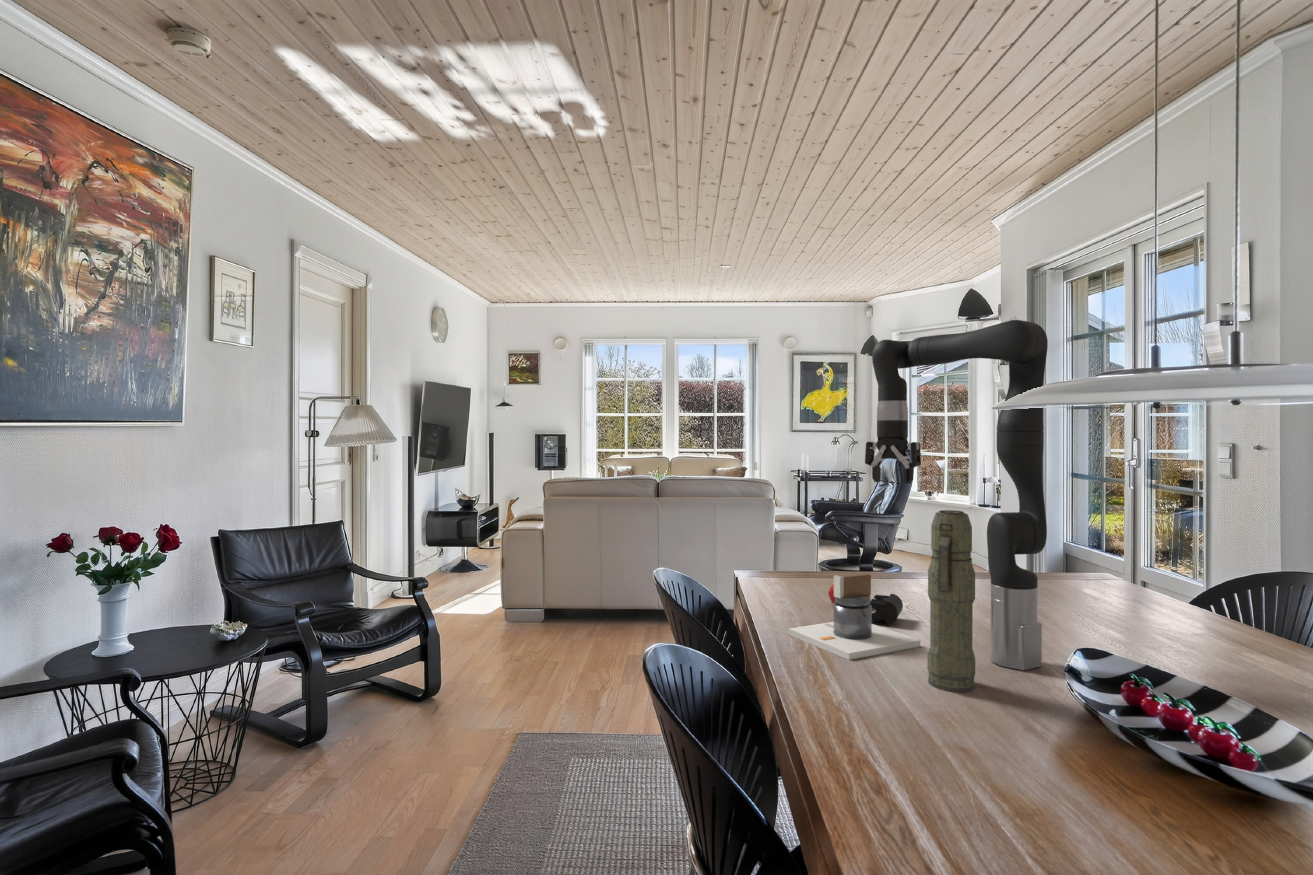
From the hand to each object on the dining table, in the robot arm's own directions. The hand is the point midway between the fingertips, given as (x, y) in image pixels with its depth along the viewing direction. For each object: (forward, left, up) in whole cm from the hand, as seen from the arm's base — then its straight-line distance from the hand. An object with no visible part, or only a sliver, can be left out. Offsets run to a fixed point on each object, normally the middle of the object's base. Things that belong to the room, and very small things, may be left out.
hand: (892, 482), depth 180 cm
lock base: (-1, +14, -38) cm, 41 cm away
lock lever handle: (-1, +14, -29) cm, 32 cm away
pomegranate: (+26, -8, -38) cm, 47 cm away
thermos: (-33, +17, -38) cm, 53 cm away
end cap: (+8, -6, -38) cm, 40 cm away
